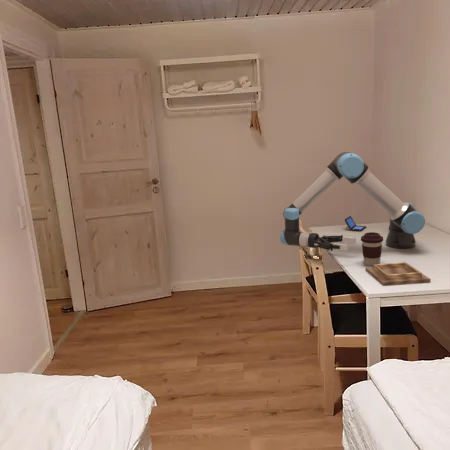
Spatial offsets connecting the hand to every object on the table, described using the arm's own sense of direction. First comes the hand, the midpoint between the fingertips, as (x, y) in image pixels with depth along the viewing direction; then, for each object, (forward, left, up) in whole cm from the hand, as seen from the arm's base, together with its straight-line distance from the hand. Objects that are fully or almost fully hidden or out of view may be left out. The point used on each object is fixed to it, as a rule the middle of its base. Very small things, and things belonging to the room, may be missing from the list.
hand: (351, 244), depth 212 cm
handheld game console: (-25, -66, -10) cm, 71 cm away
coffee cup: (-8, +6, -9) cm, 13 cm away
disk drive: (-47, -53, -10) cm, 72 cm away
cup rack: (-12, +24, -9) cm, 28 cm away
